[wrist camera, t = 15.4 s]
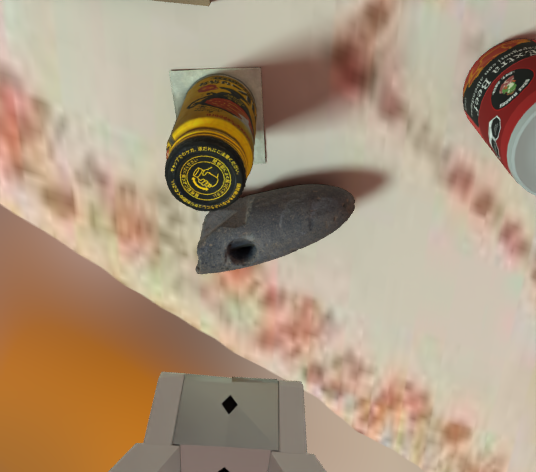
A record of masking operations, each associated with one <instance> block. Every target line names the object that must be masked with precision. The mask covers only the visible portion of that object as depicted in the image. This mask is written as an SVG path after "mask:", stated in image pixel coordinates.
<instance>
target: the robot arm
mask: <svg viewBox="0 0 536 472" xmlns="http://www.w3.org/2000/svg"><path fill="white" fill-rule="evenodd" d="M109 472H326V470H325V469H324V468H323V466H322V465H321V463H320V462H319V460H318V459H317V458H316V456H315V455H314V454H308V453H307V444H306V425H305V408H304V390H303V384H302V382H301V381H285V380H277V379H261V378H243V377H232V378H227V377H216V376H206V375H195V374H185V373H172V372H161V374H160V377H159V379H158V383H157V387H156V391H155V396H154V400H153V404H152V409H151V413H150V417H149V422H148V426H147V430H146V435H145V439H144V443H136V444H135V445H134V446H133V447H132V448H131V449H130V450H129V451H128V452H127V453H126V454H125V455H124V456H123V457H122V458H121V459H120V460H119V461H118V462H117V464H115V465H114V466H113V468H111V469H110V470H109Z"/></svg>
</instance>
